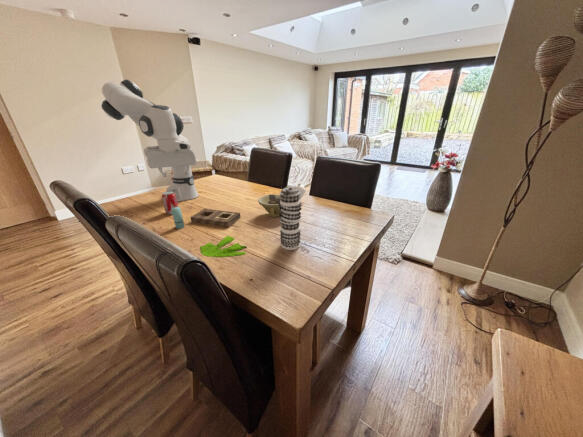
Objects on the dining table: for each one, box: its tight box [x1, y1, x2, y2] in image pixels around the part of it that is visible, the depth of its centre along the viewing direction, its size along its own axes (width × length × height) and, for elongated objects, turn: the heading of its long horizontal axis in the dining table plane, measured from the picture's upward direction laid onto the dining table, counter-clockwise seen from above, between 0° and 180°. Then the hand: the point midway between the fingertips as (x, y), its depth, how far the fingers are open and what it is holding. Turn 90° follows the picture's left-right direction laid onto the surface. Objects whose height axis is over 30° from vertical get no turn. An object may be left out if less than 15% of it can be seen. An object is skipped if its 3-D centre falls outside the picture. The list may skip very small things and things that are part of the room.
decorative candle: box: [278, 186, 302, 251], centre depth 95 cm, size 9×9×25 cm
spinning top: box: [293, 182, 306, 200], centre depth 146 cm, size 8×8×12 cm
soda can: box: [161, 190, 179, 215], centre depth 131 cm, size 7×7×12 cm
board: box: [190, 208, 242, 228], centre depth 123 cm, size 22×12×3 cm, turn 73°
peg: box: [171, 206, 185, 230], centre depth 115 cm, size 4×4×10 cm
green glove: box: [199, 235, 248, 258], centre depth 99 cm, size 20×22×2 cm
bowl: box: [257, 194, 281, 219], centre depth 127 cm, size 18×18×10 cm
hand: (176, 175), depth 110 cm, fingers open, 8 cm apart
